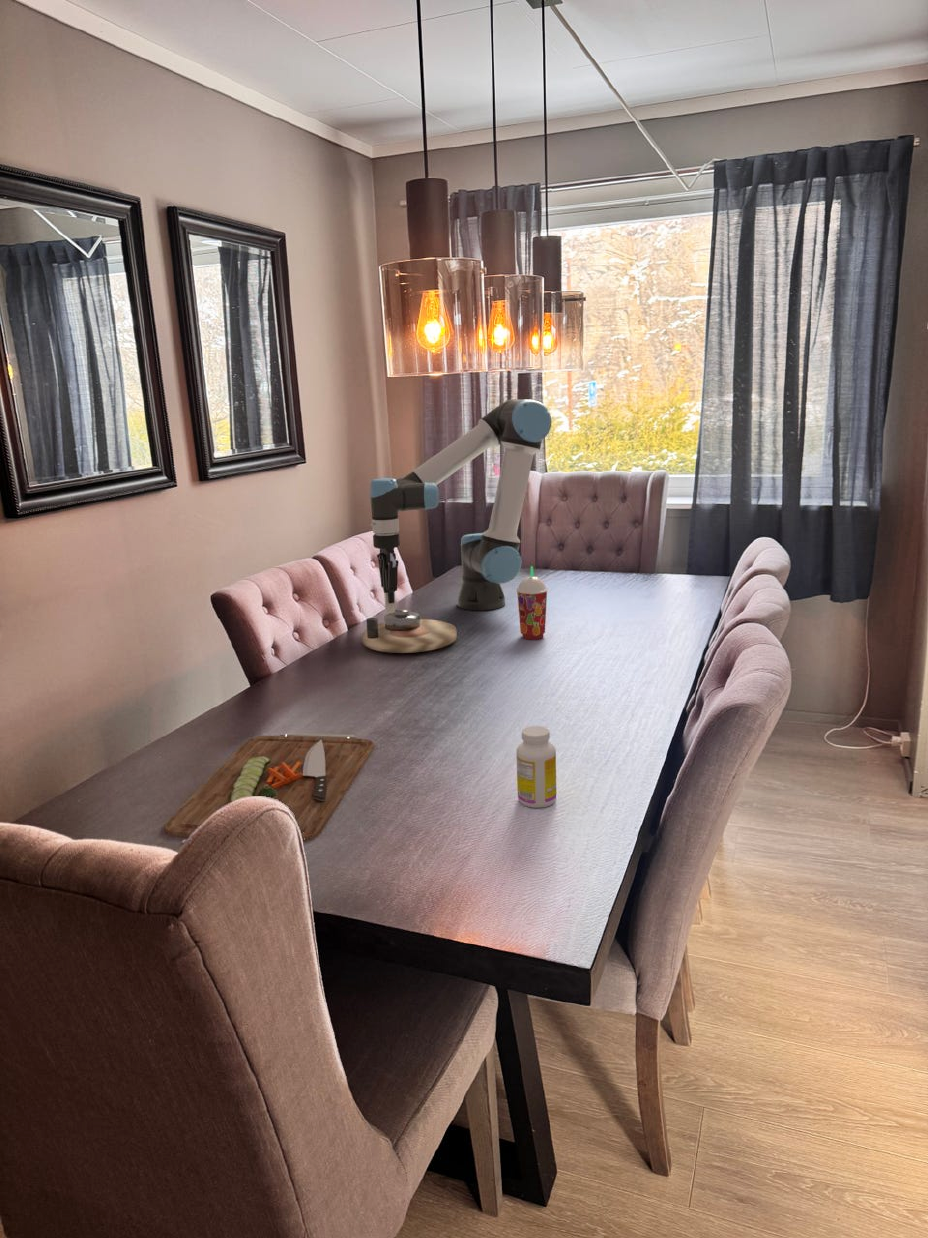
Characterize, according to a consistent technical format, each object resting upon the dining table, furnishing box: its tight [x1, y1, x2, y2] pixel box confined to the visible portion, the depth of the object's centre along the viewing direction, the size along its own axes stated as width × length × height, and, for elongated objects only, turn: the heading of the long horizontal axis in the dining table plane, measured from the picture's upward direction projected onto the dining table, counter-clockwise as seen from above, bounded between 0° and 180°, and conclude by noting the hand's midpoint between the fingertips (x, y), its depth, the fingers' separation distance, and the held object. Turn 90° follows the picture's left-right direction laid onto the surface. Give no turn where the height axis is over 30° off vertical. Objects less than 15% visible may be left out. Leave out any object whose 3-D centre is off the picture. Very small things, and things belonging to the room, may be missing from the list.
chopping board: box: [163, 732, 375, 845], centre depth 163 cm, size 45×27×3 cm, turn 171°
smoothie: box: [516, 565, 548, 641], centre depth 245 cm, size 8×8×20 cm
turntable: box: [361, 617, 458, 654], centre depth 245 cm, size 26×26×7 cm
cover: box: [383, 608, 421, 631], centre depth 251 cm, size 10×10×4 cm
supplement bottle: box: [515, 725, 557, 809], centre depth 151 cm, size 7×7×13 cm
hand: (390, 613), depth 260 cm, fingers closed
